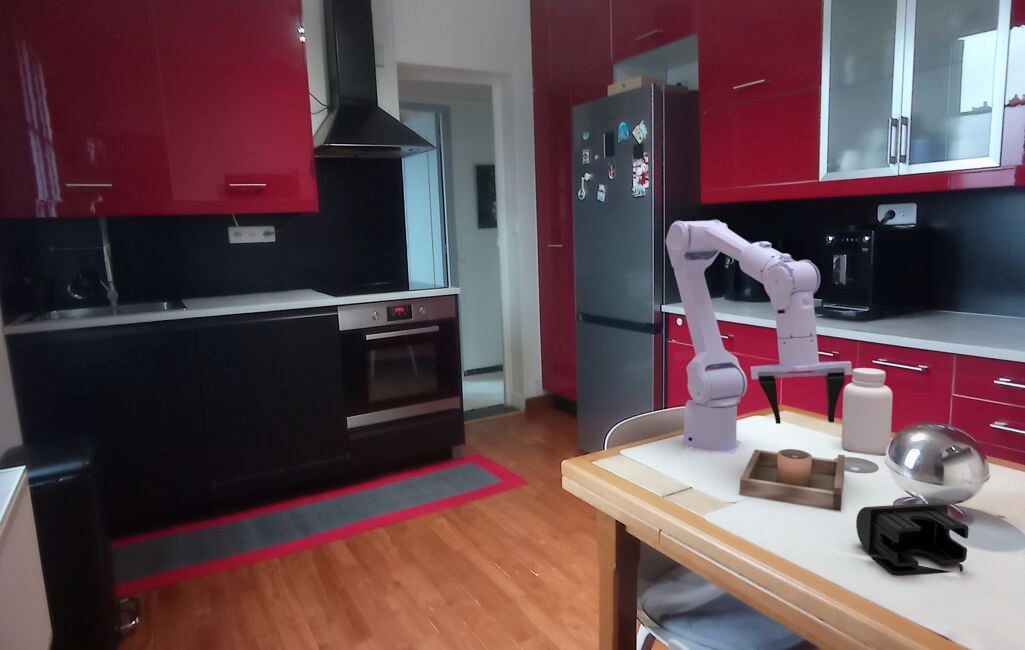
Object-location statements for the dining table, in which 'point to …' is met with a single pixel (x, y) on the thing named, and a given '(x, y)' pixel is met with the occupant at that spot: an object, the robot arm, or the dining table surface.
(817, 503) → the wooden tray
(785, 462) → the pot
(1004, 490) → the dining table surface
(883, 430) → the pill bottle
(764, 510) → the dining table surface
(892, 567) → the end cap
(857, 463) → the saucer
